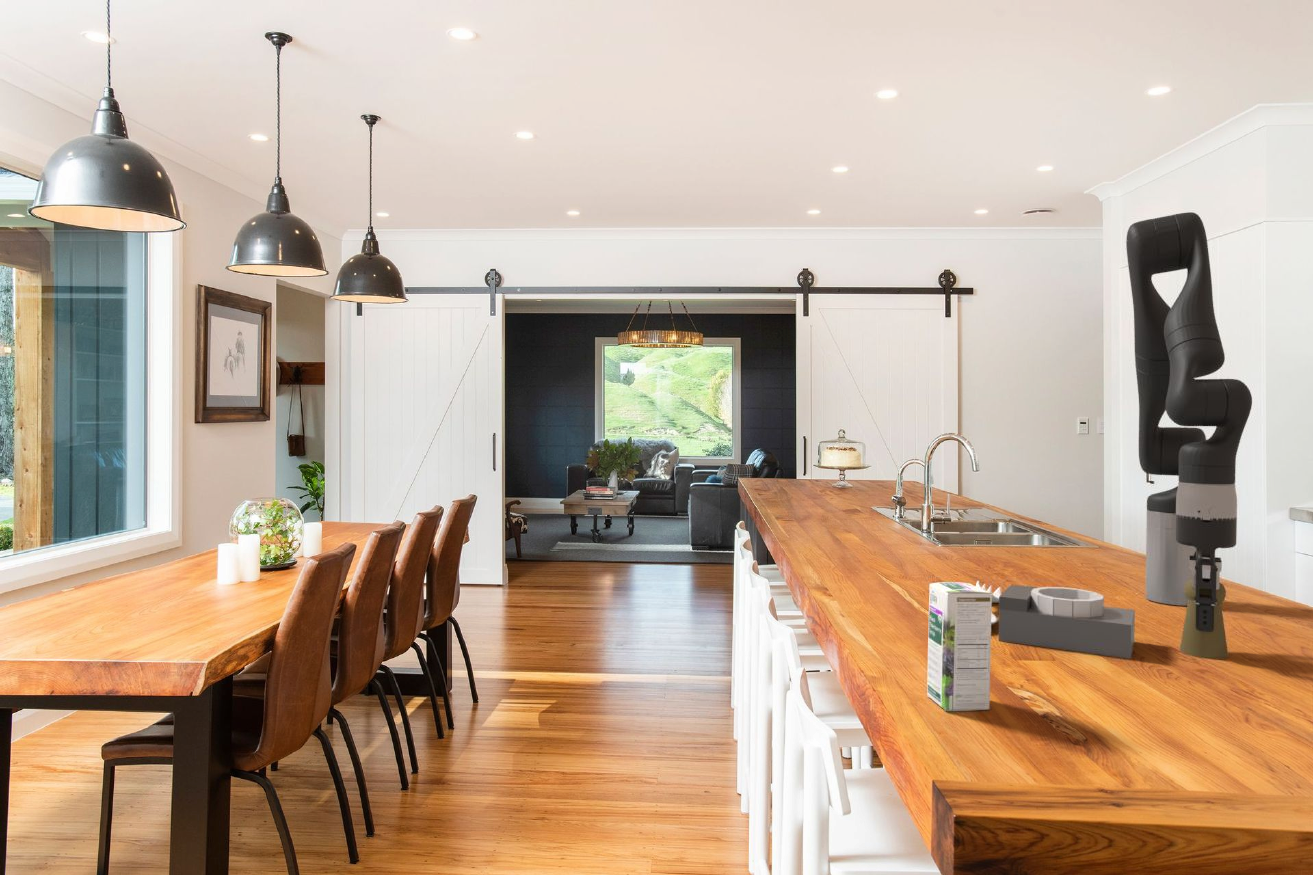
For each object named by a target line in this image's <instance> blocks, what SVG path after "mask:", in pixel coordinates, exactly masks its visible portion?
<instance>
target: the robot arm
mask: <svg viewBox="0 0 1313 875" xmlns="http://www.w3.org/2000/svg"><path fill="white" fill-rule="evenodd" d="M1204 225H1205V224H1204V223H1203V220H1202V218H1201V217H1200V216H1199V214H1197V213H1195V212H1193V211H1191V212H1189V211H1187V212H1181V213H1175V214H1169V215H1165V216H1160V217H1156V218H1150V219H1144V220H1140V221H1137V222H1134V223H1132V224H1131V225H1130V226H1129V227H1128V229H1127V232H1126V241H1125V243H1126V257H1127V266H1128V272H1129V273H1128V274H1129V279H1130V289H1131V296H1132V298H1131V299H1132V304H1133V327H1134V328H1133V329H1134V360H1135V363H1134V364H1135V372H1136V380H1137V381H1136V383H1137V393H1138V396H1137V397H1138V461H1139V465H1140V467H1141V470H1142V471H1143V472H1144V473H1146V474H1149V475H1152V476H1153V475H1155V476H1177V477H1178V484H1177V486H1175V487H1173V488H1170V489H1167V490H1164V491H1160V492H1156V493H1153V494H1150V495H1148V496H1147V499H1146V538H1145V539H1146V540H1145V541H1146V542H1145V543H1146V544H1145V547H1146V548H1145V553H1146V554H1145V599H1146V600H1148V601H1152V602H1155V603H1159V604H1165V605H1173V606H1186V607H1187V605H1188V599H1187V598H1186V596H1185V594H1184V586H1185V584H1186V582H1187V581H1188V580H1191V587H1192V588H1193V589H1194V590H1195V597H1194V602H1195V605H1196V629H1197V630H1198V631H1205V632H1212V631H1213V630H1214V607H1215V605H1216V602H1217V599H1216V591H1218V590H1219V587H1220V583H1221V582H1220V573H1221V572H1222V559H1221V558H1222V557H1219V556H1218V557H1216V551H1217V549H1231V548H1235V546H1236V545H1237V537H1238V536H1237V534H1238V533H1237V532H1238V531H1237V526H1238V525H1237V524H1238V497H1237V496H1238V495H1237V491H1236V490H1237V488H1236V463H1237V462H1236V461H1237V459H1236V458H1237V453H1238V450H1239V446H1240V443H1241V439H1242V435H1243V433H1244V430H1245V427H1246V425H1247V422H1248V419H1249V417H1250V414H1251V410H1252V406H1253V397H1252V393H1251V390H1250V389H1249V387H1248V386H1247V385H1246V384H1245V382H1243V381H1241V380H1239V379H1238V378H1237V379H1235V378H1202V377H1206V376H1209V375H1211V374H1214V373H1215V372H1217V371H1218V370H1220V369H1221V368H1222V367H1223V365H1224V364H1225V361H1226V360H1225V359H1226V358H1225V350H1224V347H1223V343H1222V339H1221V336H1220V331H1219V327H1218V324H1217V320H1216V315H1215V307H1214V300H1213V299H1214V297H1213V296H1214V295H1213V283H1212V272H1211V270H1212V269H1211V264H1210V255H1209V254H1210V252H1209V246H1208V245H1209V244H1208V240H1207V233H1206V229H1205V226H1204ZM1181 270H1187V271H1186V274H1187V275H1186V280H1185V282H1184V285H1183V286H1182V289H1181V291H1180V292H1179V294H1178V296H1177V298H1176V299H1175V301H1174V302H1173V304H1172V305H1171V306H1169V304H1168V303H1167V302H1166V301H1165V300H1164V299H1163V297H1162V296H1161V295H1160V293H1159V292H1158V290H1157V289H1156V287H1155V284H1154V283H1153V280H1152V277H1153V276H1154V275H1158V274H1164V273H1169V272H1175V271H1181ZM1165 412H1166V415H1167V416H1168V418H1169V419H1170V420H1171V421H1172V422H1173V423H1174V424H1176V425H1178V427H1177V426H1175V427H1174V426H1173V427H1172V426H1171V427H1170V426H1169V427H1168V426H1167V427H1165V426H1163V427H1161V426H1159V424H1160V422H1161V420H1162V417H1163V415H1164V414H1165ZM1179 426H1180V427H1179ZM1199 427H1215V430H1214V432H1213V433H1212V435H1211V436H1210V437H1209V438H1207V436H1206V434H1205V432H1204V430H1203V429H1202V428H1199ZM1200 589H1204V590H1210V591H1211V596H1208V595H1199V593H1200Z"/></svg>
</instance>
